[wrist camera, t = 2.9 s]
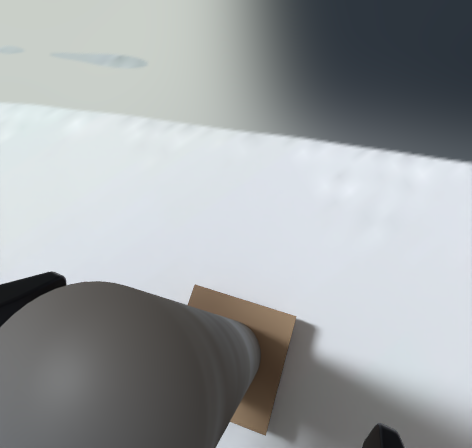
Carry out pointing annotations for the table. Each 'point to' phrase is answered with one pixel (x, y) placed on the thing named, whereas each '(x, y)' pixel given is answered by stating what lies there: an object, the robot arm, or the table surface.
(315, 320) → the table surface
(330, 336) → the table surface
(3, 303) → the robot arm
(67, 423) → the grey knob lever
